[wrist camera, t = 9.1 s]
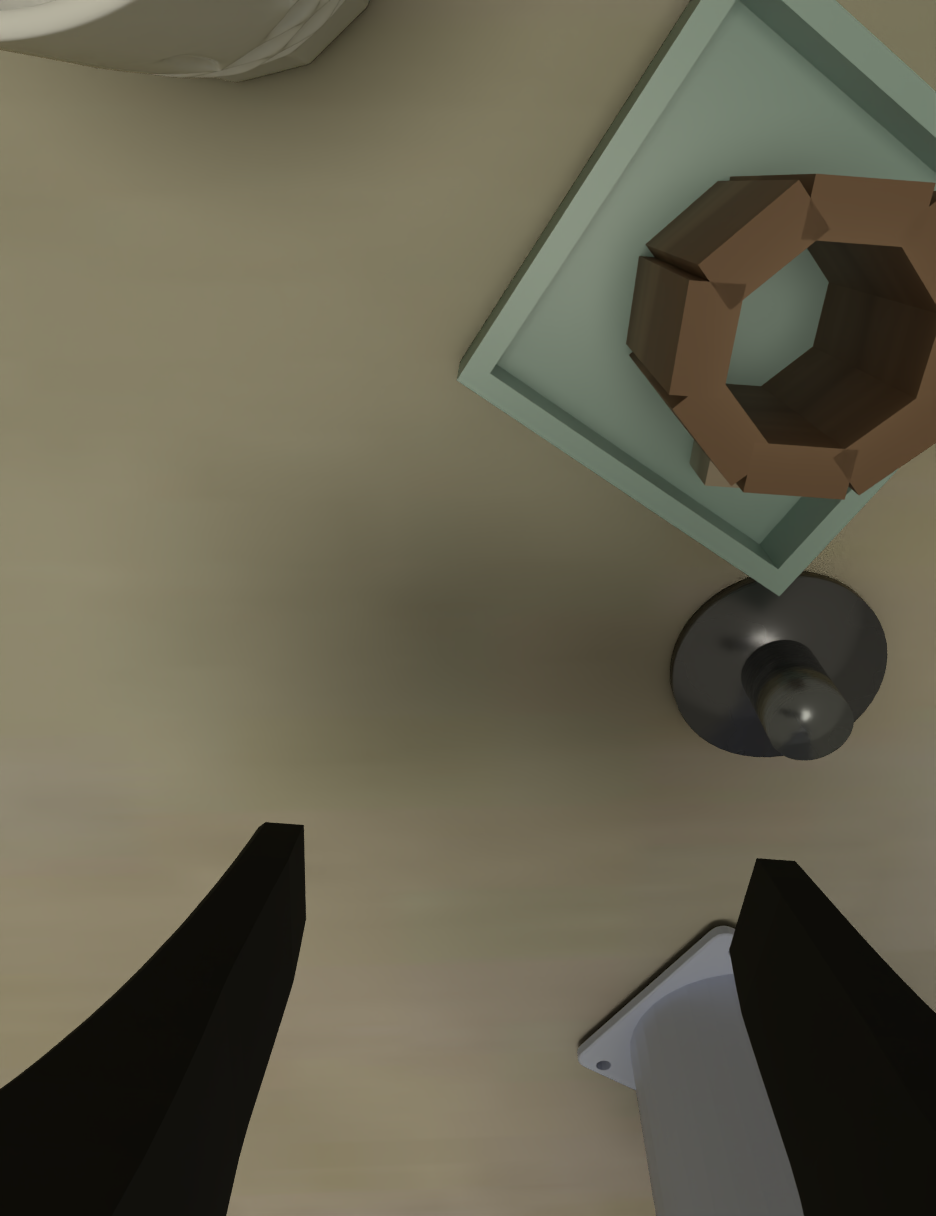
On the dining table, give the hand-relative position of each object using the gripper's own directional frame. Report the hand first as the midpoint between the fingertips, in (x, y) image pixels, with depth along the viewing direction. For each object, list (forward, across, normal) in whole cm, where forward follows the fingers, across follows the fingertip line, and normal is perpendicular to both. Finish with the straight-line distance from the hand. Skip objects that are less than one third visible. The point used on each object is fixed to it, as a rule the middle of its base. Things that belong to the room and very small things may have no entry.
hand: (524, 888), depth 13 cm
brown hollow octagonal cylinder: (+9, -4, -8) cm, 13 cm away
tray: (+10, -4, -8) cm, 13 cm away
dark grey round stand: (+10, -7, +1) cm, 12 cm away
